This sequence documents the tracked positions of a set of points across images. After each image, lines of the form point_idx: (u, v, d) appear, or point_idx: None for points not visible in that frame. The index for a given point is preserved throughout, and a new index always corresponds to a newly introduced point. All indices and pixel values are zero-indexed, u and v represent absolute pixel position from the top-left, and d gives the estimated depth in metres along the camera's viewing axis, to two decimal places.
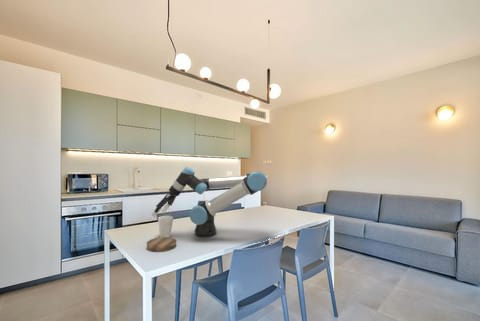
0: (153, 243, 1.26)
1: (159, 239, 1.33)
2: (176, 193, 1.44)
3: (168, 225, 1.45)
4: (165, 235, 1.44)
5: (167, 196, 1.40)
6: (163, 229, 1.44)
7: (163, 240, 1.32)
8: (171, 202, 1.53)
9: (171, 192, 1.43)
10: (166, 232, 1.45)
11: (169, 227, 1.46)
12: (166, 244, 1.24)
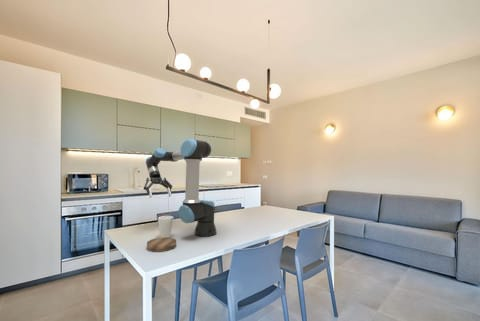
0: (153, 243, 1.26)
1: (159, 239, 1.33)
2: (152, 173, 1.64)
3: (168, 225, 1.45)
4: (165, 235, 1.44)
5: (146, 179, 1.61)
6: (163, 229, 1.44)
7: (163, 240, 1.32)
8: (166, 184, 1.65)
9: (150, 177, 1.64)
10: (166, 232, 1.45)
11: (169, 227, 1.46)
12: (166, 244, 1.24)
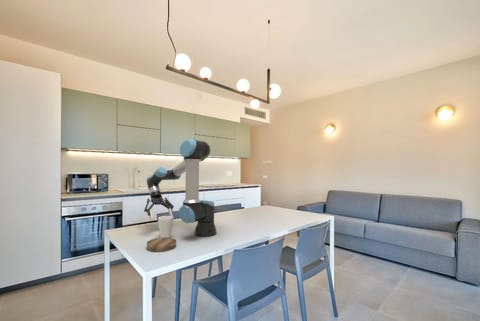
0: (153, 243, 1.26)
1: (159, 239, 1.33)
2: (153, 194, 1.60)
3: (168, 225, 1.45)
4: (165, 235, 1.44)
5: (147, 200, 1.57)
6: (163, 229, 1.44)
7: (163, 240, 1.32)
8: (167, 205, 1.61)
9: (151, 197, 1.60)
10: (166, 233, 1.45)
11: (169, 227, 1.46)
12: (166, 244, 1.24)
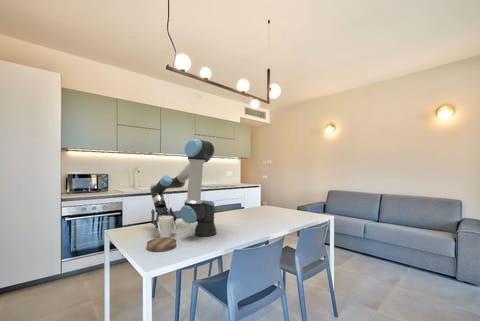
0: (153, 243, 1.26)
1: (159, 239, 1.33)
2: (157, 203, 1.54)
3: (168, 225, 1.45)
4: (165, 235, 1.44)
5: (151, 211, 1.50)
6: (163, 229, 1.44)
7: (163, 240, 1.32)
8: None
9: (155, 207, 1.54)
10: (166, 232, 1.45)
11: (169, 227, 1.46)
12: (166, 244, 1.24)
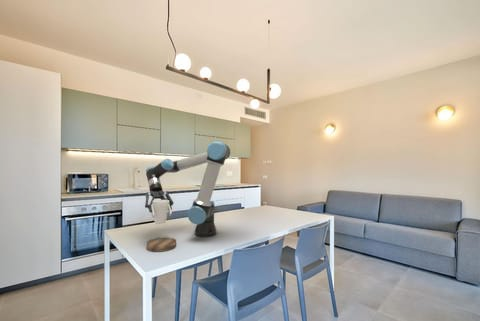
0: (153, 243, 1.26)
1: (159, 239, 1.33)
2: (152, 186, 1.41)
3: (163, 210, 1.32)
4: (160, 220, 1.32)
5: (146, 194, 1.38)
6: (157, 213, 1.31)
7: (163, 240, 1.32)
8: None
9: (150, 190, 1.41)
10: (161, 217, 1.32)
11: (164, 211, 1.33)
12: (166, 244, 1.24)
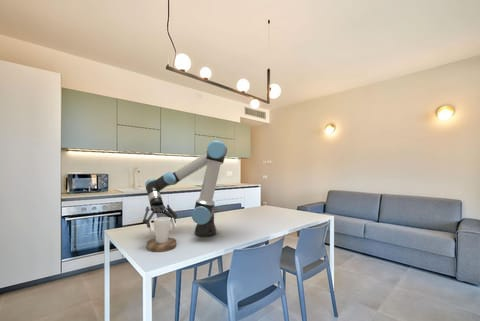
0: (153, 243, 1.26)
1: None
2: (153, 200, 1.36)
3: (165, 228, 1.27)
4: (162, 239, 1.26)
5: (146, 209, 1.32)
6: (159, 232, 1.26)
7: None
8: (170, 214, 1.36)
9: (150, 205, 1.36)
10: (163, 236, 1.26)
11: (166, 230, 1.27)
12: (166, 244, 1.24)
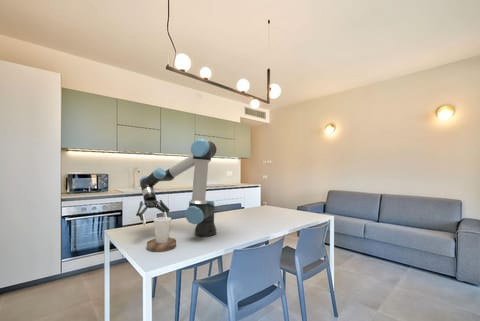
0: (153, 243, 1.26)
1: None
2: (146, 196, 1.46)
3: (165, 228, 1.26)
4: (162, 239, 1.26)
5: (140, 203, 1.42)
6: (159, 232, 1.26)
7: None
8: (162, 208, 1.46)
9: (144, 200, 1.46)
10: (163, 236, 1.26)
11: (166, 230, 1.27)
12: (166, 244, 1.24)
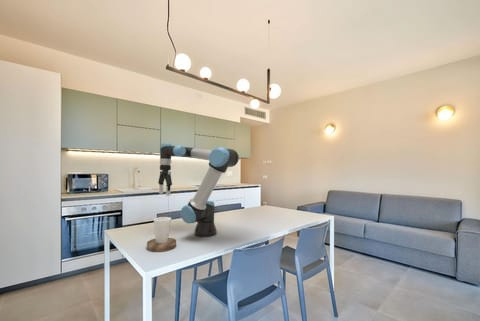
0: (153, 243, 1.26)
1: None
2: None
3: (165, 228, 1.26)
4: (162, 239, 1.26)
5: None
6: (159, 232, 1.26)
7: None
8: (166, 182, 1.54)
9: None
10: (163, 236, 1.26)
11: (166, 230, 1.27)
12: (166, 244, 1.24)
